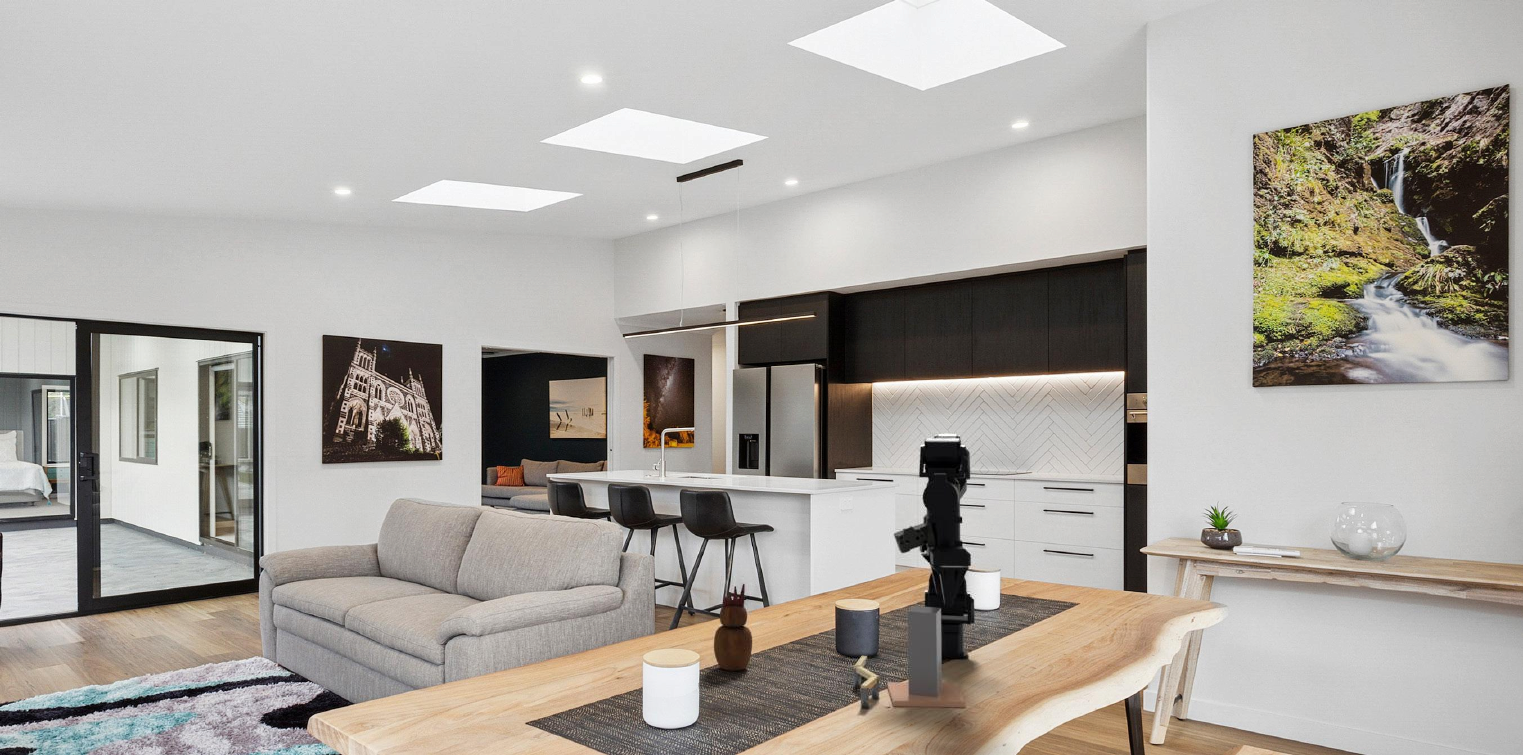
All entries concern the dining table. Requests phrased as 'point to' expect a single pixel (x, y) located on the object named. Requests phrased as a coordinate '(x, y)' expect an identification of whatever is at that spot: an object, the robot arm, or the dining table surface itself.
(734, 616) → the wooden figurine
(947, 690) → the terracotta tile
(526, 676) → the dining table surface
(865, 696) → the bent wire
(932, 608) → the gray pillar
